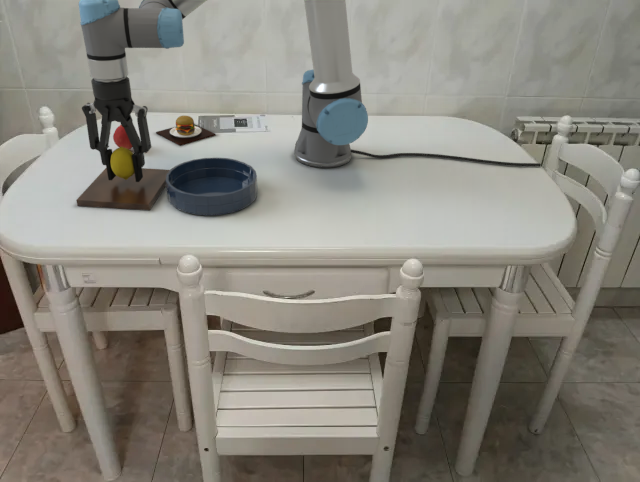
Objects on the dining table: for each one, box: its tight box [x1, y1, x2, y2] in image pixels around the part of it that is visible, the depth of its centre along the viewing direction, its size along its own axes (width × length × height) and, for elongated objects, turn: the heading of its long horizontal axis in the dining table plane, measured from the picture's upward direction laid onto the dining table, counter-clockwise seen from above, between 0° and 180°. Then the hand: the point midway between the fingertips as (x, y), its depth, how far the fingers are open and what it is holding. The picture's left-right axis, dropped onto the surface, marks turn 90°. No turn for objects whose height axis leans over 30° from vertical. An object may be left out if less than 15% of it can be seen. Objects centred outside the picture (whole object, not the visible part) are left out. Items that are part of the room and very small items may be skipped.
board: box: [75, 167, 171, 211], centre depth 129 cm, size 16×18×2 cm
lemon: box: [110, 147, 134, 180], centre depth 126 cm, size 6×6×8 cm
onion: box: [112, 124, 133, 151], centre depth 146 cm, size 6×6×8 cm
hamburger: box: [155, 115, 217, 147], centre depth 159 cm, size 12×12×6 cm
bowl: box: [165, 157, 258, 217], centre depth 128 cm, size 20×20×5 cm
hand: (125, 178), depth 128 cm, fingers closed on lemon, 6 cm apart
